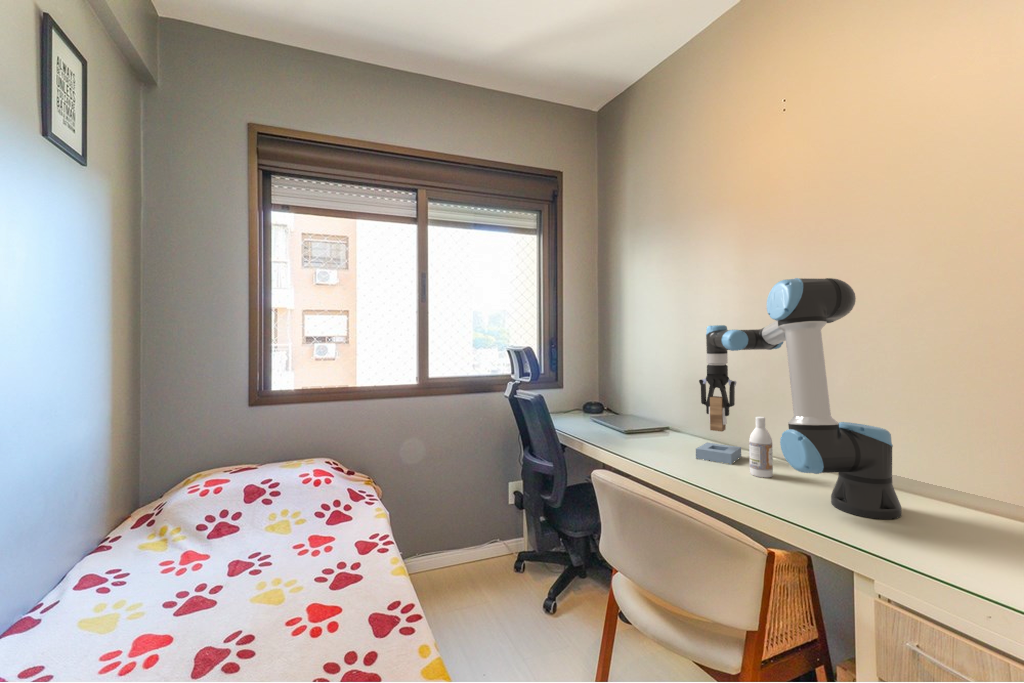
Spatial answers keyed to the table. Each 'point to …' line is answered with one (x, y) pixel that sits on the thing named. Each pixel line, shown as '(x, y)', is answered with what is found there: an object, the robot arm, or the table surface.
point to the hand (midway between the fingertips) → (717, 423)
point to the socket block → (718, 452)
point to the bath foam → (761, 450)
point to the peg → (716, 414)
